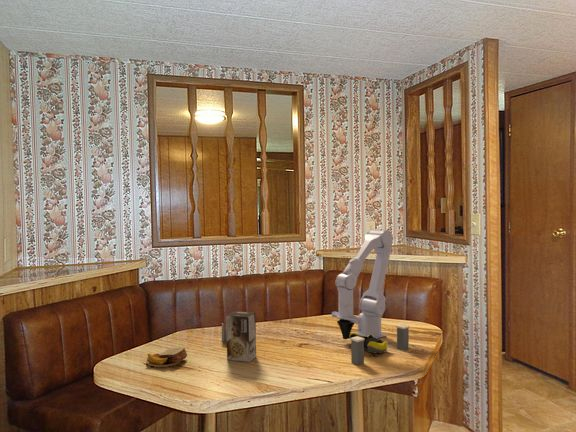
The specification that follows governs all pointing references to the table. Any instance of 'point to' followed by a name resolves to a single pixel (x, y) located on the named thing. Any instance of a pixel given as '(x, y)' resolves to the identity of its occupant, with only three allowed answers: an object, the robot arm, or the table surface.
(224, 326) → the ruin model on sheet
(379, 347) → the black yellow sneaker
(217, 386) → the table surface
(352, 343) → the posts
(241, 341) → the coffee box
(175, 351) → the toy sandwich meal
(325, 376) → the table surface
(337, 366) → the table surface
